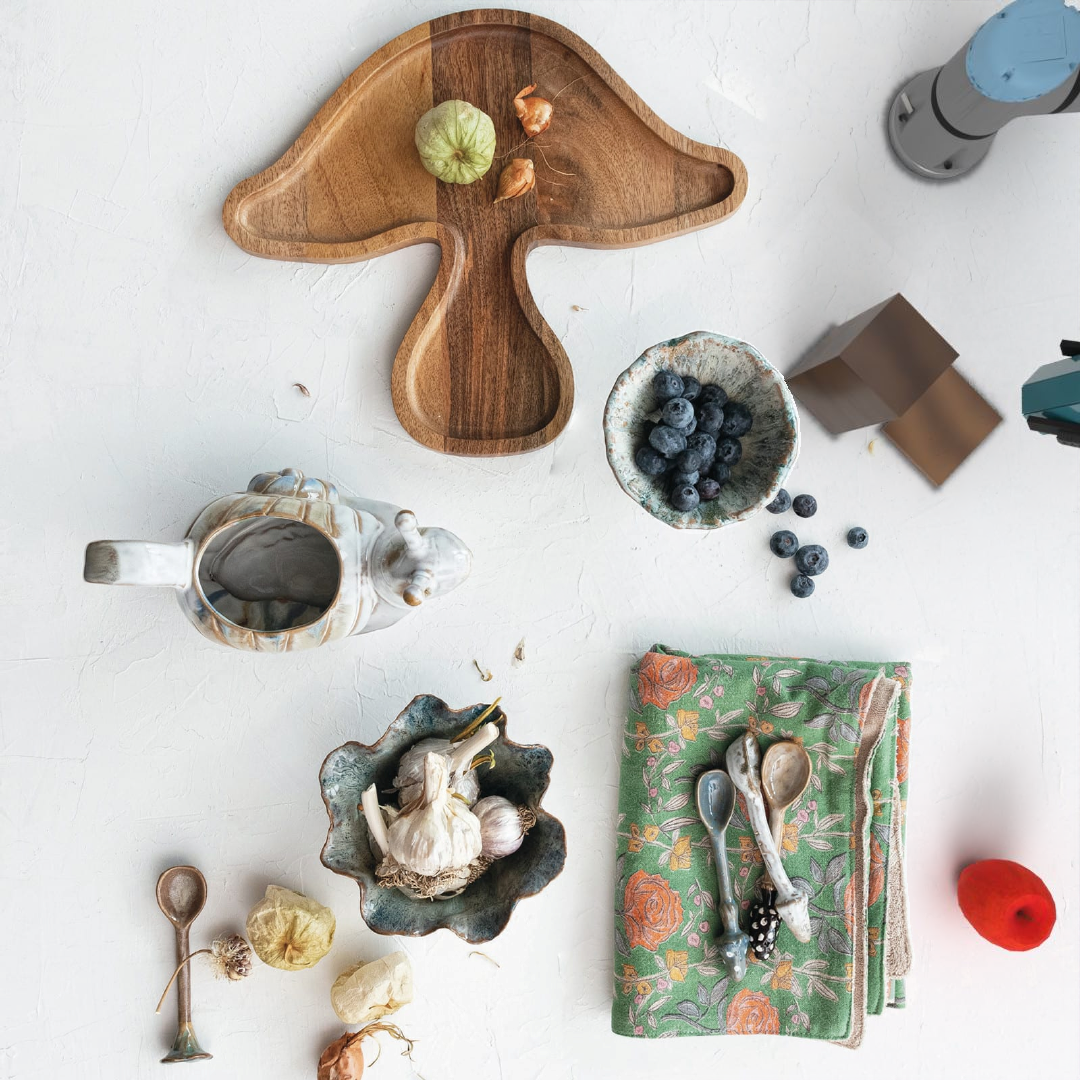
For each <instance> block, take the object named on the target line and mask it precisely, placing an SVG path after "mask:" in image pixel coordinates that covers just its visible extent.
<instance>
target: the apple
mask: <svg viewBox="0 0 1080 1080" xmlns="http://www.w3.org/2000/svg"><path fill="white" fill-rule="evenodd" d="M956 894H957V903H958V907H959V908H960V911H961V913H962V915H963V917H964V918H965V919H966V921H967V922H968V923H969V924H970V925H971V926H972V928H973V930H975V932H977V934H978V935H979V936H980V937H982V938H983V939H985V940H986V941H987V942H988V943H990V944H992V945H995V946H997V947H999V948H1002V949H1003V950H1006V951H1008V952H1020V953H1024V952H1029V951H1031V950H1033V949H1037V948H1039V947H1040V946H1041V945H1042V944H1043V943H1045V942H1046V941H1047V940H1048V939H1049V938H1050V937H1051V934H1052V932H1053V929H1054V927H1055V925H1056V922H1057V908H1056V902H1055V900H1054V898H1053V895H1052V893H1051V891H1050V890H1049V888H1048V886H1047V885H1046V884H1045V882H1044V881H1043V879H1042V878H1041V877H1040V876H1039V875H1038V874H1036V873H1035V872H1033V871H1032V870H1031V869H1030V868H1027V866H1024V865H1023V864H1020V863H1018V862H1017V861H1013V860H1009V859H1000V858H987V859H982V860H979V861H976V862H973V863H971V864H969V865H967V866H966V867H965V868H964V869H963V870H962V871H961V872H960V875H959V878H958V881H957V889H956Z"/></svg>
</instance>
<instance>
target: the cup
mask: <svg viewBox="0 0 1080 1080" xmlns="http://www.w3.org/2000/svg"><path fill="white" fill-rule="evenodd" d="M1021 415H1022V417H1023V418H1024V419H1025V420H1026V421H1027V419H1028V416H1029V415H1031V416H1036V417H1042V418H1047V419H1052V420H1058V421H1063V422H1068V423H1074V424H1079V425H1080V355H1078V356H1074V357H1067V358H1064V359H1061V360H1057V361H1054V362H1050V363H1047V364H1043V365H1041V366H1039V367H1038V368H1037V369H1036V371H1034V372H1033V373H1032V375H1031V376H1030V377H1029V378H1028V379H1027V380H1026V381H1025V382H1024V383H1023V384H1022V386H1021ZM1038 433H1039V435H1042V436H1054V435H1053V434H1048V433H1043V432H1038Z"/></svg>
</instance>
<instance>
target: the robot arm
mask: <svg viewBox="0 0 1080 1080" xmlns="http://www.w3.org/2000/svg"><path fill="white" fill-rule="evenodd" d="M1074 113H1075V114H1076V113H1080V10H1078V9H1077V8H1076V7H1075V6H1074V5H1073V4H1072V5H1069V6H1068V5H1067V4H1066V0H1014V1H1012V2H1010V3H1009V4H1007V5H1005V7H1003V8H1002V9H1001V10H999V11H998V12H996V13H995V14H993V15H992V16H991V17H989V18H988V19H987V20H986V21H985V22H984V23H983V24H982V25H981V26H980V27H979V28H978V30H977V31H976V33H975V34H973V35H972V37H970V39H968V40H967V42H965V44H964V45H963V46H962V47H961V48H959V50H957V52H956V53H954V55H953V56H952V57H951V58H950V59H949V60H948V61H946V63H945V64H942V65H939V66H937V67H934V68H932V69H929V70H926V71H923V72H921V73H919V74H918V75H916V76H915V77H914V78H913V79H912V78H911V80H910V81H908V83H907V84H906V85H905V86H904V87H903V88H902V89H901V90H900V91H899V93H898V94H897V95H896V97H895V98H894V100H893V103H892V105H891V108H890V111H889V115H888V125H887V126H888V135H889V141H890V143H891V146H892V148H893V150H894V152H895V155H896V156H897V157H898V159H899V160H900V162H902V163H903V164H904V165H905V166H906V167H907V168H908V169H910V170H911V171H912V172H914V173H916V174H918V175H920V176H923V177H926V178H929V179H937V180H943V179H949V178H954V177H956V176H959V175H961V174H963V173H965V172H967V171H968V170H969V169H971V168H972V167H973V166H974V165H976V164H977V163H978V162H979V161H980V160H982V158H983V157H984V156H985V155H986V154H987V152H988V150H989V149H990V147H991V145H992V143H993V141H994V139H995V137H996V136H997V134H998V132H999V131H1000V130H1001V129H1003V128H1004V127H1005V126H1006V125H1008V124H1009V123H1010V122H1011V121H1013V120H1015V119H1017V118H1022V117H1031V116H1033V117H1034V116H1043V115H1059V114H1074ZM1059 349H1060V351H1061V356H1062V357H1067V358H1071V357H1074V356H1078V355H1080V341H1079V340H1070V339H1065V338H1062V339H1061V341H1060V343H1059ZM1026 423H1027V427H1028V428H1029V430H1030V431H1033V432H1037V433H1039V432H1043V433H1048V434H1053V435H1052V436H1055V438H1056V441H1057V443H1059V444H1060V445H1062V446H1066V447H1067V446H1068V447H1072V448H1075V449H1076V448H1077V449H1080V425H1079V424H1074V423H1068V422H1063V421H1058V420H1052V419H1047V418H1042V417H1036V416H1031V415H1029V416H1028V419H1027V420H1026Z"/></svg>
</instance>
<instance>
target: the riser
mask: <svg viewBox="0 0 1080 1080" xmlns="http://www.w3.org/2000/svg"><path fill="white" fill-rule="evenodd" d="M960 356H961V355H960V353H959V352H958V351H957V350H956V349H955V348H954V347H953V346H952V345H951V344H950V343H949V342H948V341H947V340H946V339H945V338H944V337H943V336H942V334H940V332H938V331H937V330H936V329H935V327H934V326H933V325H931V324H930V322H929V321H928V320H927V319H926V318H925V317H924V316H923V315H922V314H921V313H920V312H919V311H918V310H917V309H916V308H915V307H914V305H912V304H911V303H910V302H909V301H908V299H907V298H906V297H905V296H904V295H903V294H902V293H900V292H897V293H895V294H894V295H892V296H890V297H888V298H886V299H885V300H883V301H881V302H879V303H877V304H875V305H874V306H872V307H870V308H868V309H867V310H864V311H862V312H861V313H859V314H857V315H856V316H854V317H853V318H850V319H848V320H847V321H845V322H843V323H841V324H840V325H837V326H836V327H834V328H833V329H831V330H830V332H828V333H827V334H826V335H825V336H824V337H823V339H821V340H820V342H819V343H818V344H816V346H815V347H814V348H813V349H812V350H811V351H810V352H809V353H808V354H807V355H806V356H805V357H804V358H803V359H802V360H801V362H799V363H798V364H797V366H795V368H794V369H793V370H792V371H791V372H790V373H788V375H787V376H786V377H784V379H783V380H784V381H785V382H786V384H787V386H788V389H789V390H790V391H789V390H788V389H787V390H788V391H789V392H790V394H791V395H793V397H795V398H796V399H797V401H798V402H800V403H801V405H802V406H803V407H805V408H806V409H807V410H808V411H809V412H810V414H812V415H813V417H814V418H816V419H817V420H818V422H820V424H821V425H822V426H823V427H824V428H825V429H826V430H827V431H829V433H830V434H831V435H832V436H835V435H841V434H844V433H847V432H851V431H856V430H860V429H865V428H868V427H871V426H875V425H879V424H883V423H887V422H888V421H891V420H895V419H899V418H901V417H902V416H903V415H904V414H905V413H906V412H907V411H908V410H909V408H910V407H911V406H912V405H913V404H914V403H915V402H916V401H917V400H918V399H919V398H920V397H921V396H922V395H923V394H924V393H925V392H926V391H927V390H928V388H929V387H930V386H931V385H932V384H933V383H934V382H935V381H936V380H937V379H938V378H939V377H940V376H941V375H942V374H943V373H944V372H945V371H946V370H947V368H948V367H949V366H950V365H951V366H952V365H953V363H954V362H956V361H957V359H959V357H960Z"/></svg>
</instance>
